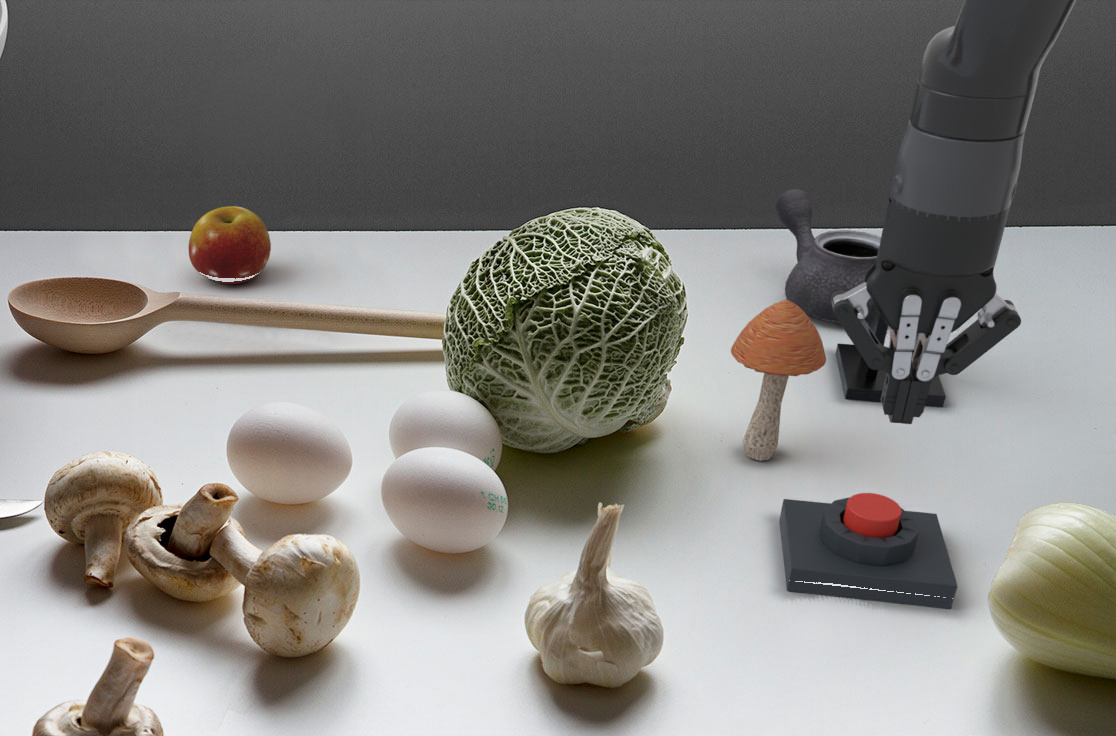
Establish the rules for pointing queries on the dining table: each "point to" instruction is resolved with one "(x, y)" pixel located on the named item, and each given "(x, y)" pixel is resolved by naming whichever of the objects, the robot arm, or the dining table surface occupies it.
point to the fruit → (229, 244)
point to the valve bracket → (870, 382)
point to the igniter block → (865, 556)
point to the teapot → (823, 258)
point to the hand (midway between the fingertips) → (898, 418)
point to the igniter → (872, 515)
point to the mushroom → (776, 366)
